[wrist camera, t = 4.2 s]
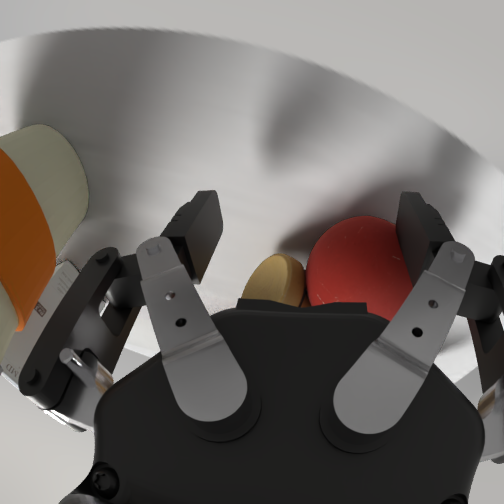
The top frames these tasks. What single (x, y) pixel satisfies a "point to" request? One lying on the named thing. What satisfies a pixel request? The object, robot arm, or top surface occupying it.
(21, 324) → the reusable coffee cup
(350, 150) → the top surface
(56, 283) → the skincare box
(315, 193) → the top surface
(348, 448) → the robot arm
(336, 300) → the kendama
